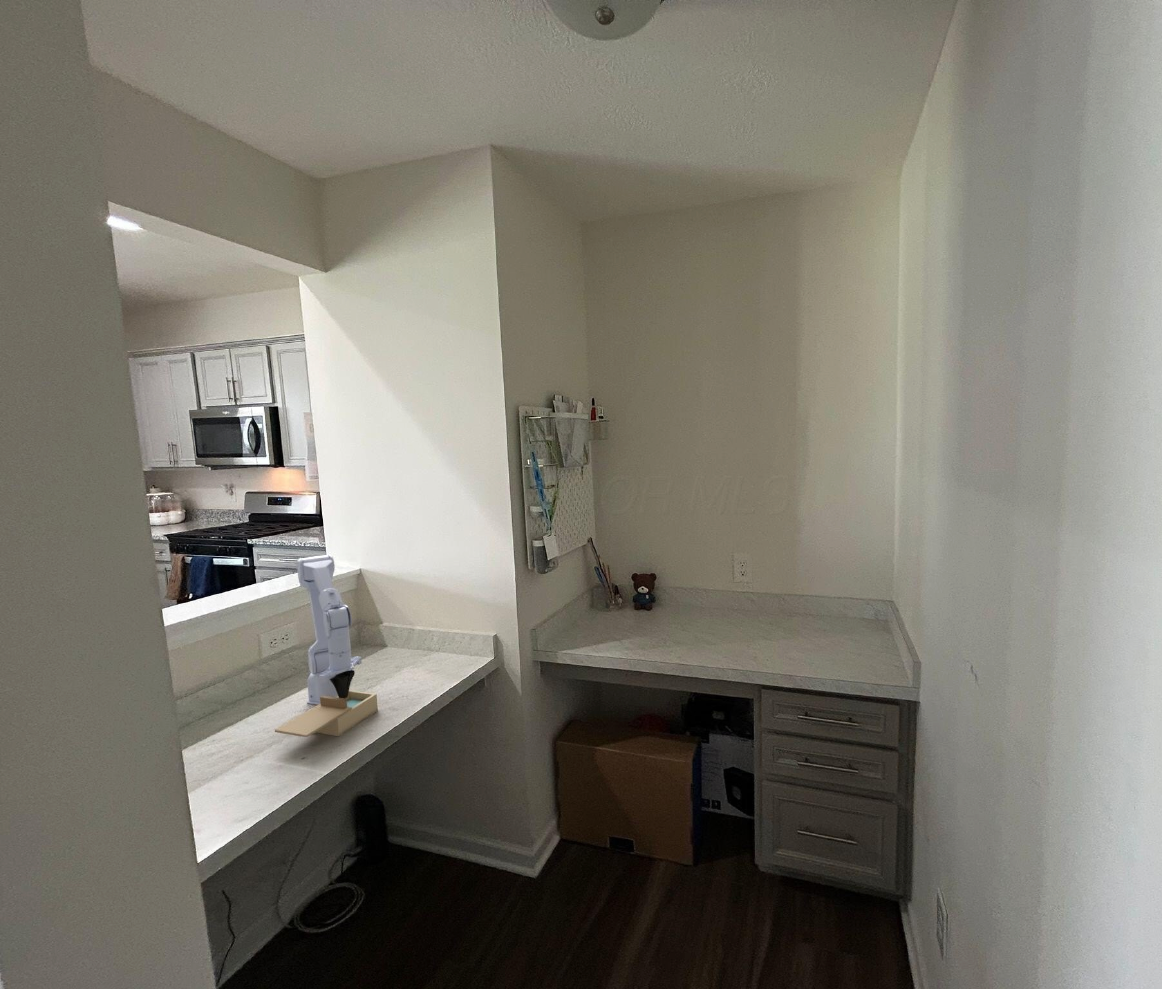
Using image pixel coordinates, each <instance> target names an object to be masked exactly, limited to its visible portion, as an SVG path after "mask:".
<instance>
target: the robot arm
mask: <svg viewBox="0 0 1162 989" xmlns="http://www.w3.org/2000/svg"><path fill="white" fill-rule="evenodd" d="M335 570H336V569H335V560H334V557H333V556H332V555H331V554H327V555H326V554H325V555H317V556H311V557H304V558H303V557H302V558H301V557H300V558H298V559H297V560H296V571H297V578H298V583H299V586H300V587H302V588H304V589H306V591H307V594H308V597H309V603H310V610H311V611H310V612H311V617H312V623H313V629H314V636H315V642H314V643H313V644H312V645H311V646H310V647H309V648H308V651H307V655H308V656H307V661H308V663H307V664H308V669H309V672H310V673H309V676H308V678H307V682H306V683H307V684H306V685H307V695H308V700H307V701H306V703H307V704H311V705H315V706H316V705H318V704H320V697H321V696H323V695H324V696H331V697H337V696H338V697H339V698H347V697H348V693H349V690H350V687H351V684H352V680H353V678H354V676H355V675H356V674H355V670H354V669H355V666H359V665H361V664H362V663H363V662H362V656H354V657H352V651H351V650H352V649H351V636H350V627H351V625H352V614H351V611H350V608H349V606H348V605H347V604H346V603H344V601H343V598H342V596H341V593H340V591H339V590H338V589H337V588H334V585H333V581H332V579H333V576H334V573H335Z"/></svg>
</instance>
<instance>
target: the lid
mask: <svg viewBox="0 0 1162 989" xmlns="http://www.w3.org/2000/svg"><path fill="white" fill-rule="evenodd" d="M351 709H352V707H348V706H347V699H345V698H338V697H331V696H324V695H323V696H321V697H320V704H318V705H315V706H313V707H311V708H310V709H308V710H306V711H305V712H302V713H301V714H299V715H297V716H296V717H294V718H292V719H291V720H289V721H287V722H286V723H283V724H282V725H280V726H278V727H277V728H275V729H274V733H279V734H284V735H289V736H296V737H302V738H309V737H310V736H312V735H314V734H315V733H316V732H317V731H318V730H320V729H321V728H323V727H325V726H326V725H328V724H329V723H331V722H332V721H334V720H336V719H337V718H339V717H340V716H342V715H344V714H345V713H347V712H348V711H350V710H351Z"/></svg>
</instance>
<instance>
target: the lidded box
mask: <svg viewBox="0 0 1162 989" xmlns="http://www.w3.org/2000/svg"><path fill="white" fill-rule="evenodd" d="M377 694H378V693H375V692H366V691H358V690H352V689H351V690H350V689H349V693H348V697H347V698H345V699H347V706H348V707H352V709H351V710H350V711H348V712H347V713H345V714H344V715H342V716H340V717H339V718H337V719H336V720H334V721H332V722H331V723H329V724H328V725H326V726H325V727H323V728H321V729H320V730H318V731H317V732H315V733H317V734H322V735H323V734H324V735H329V736H335V737H340V736H342V735H343V734H345V733H346V732H348V731H349V730H351V729H352V728H354V727H356V726H357V725H359V724H360V723H362V722H363V721H365V720H366V719H367V718H369V717H370V716H372V715H374V713H376V712H378V708H379V707H378V706H379V705H378V695H377ZM337 697H338V696H337ZM338 698H339V697H338Z"/></svg>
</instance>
